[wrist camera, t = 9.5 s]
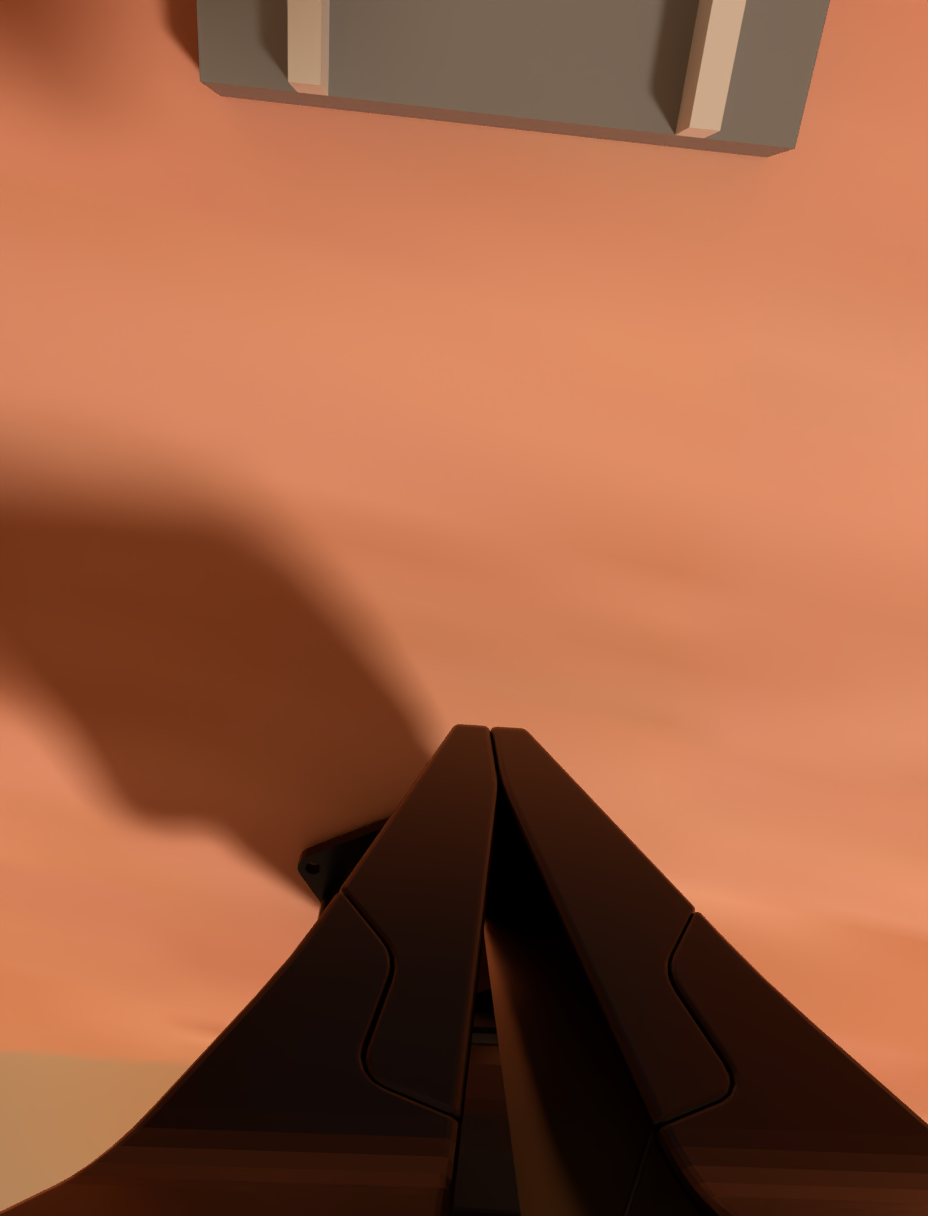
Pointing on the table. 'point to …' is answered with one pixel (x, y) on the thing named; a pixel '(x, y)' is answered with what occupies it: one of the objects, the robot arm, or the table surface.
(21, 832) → the table surface
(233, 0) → the grey railed base plate
